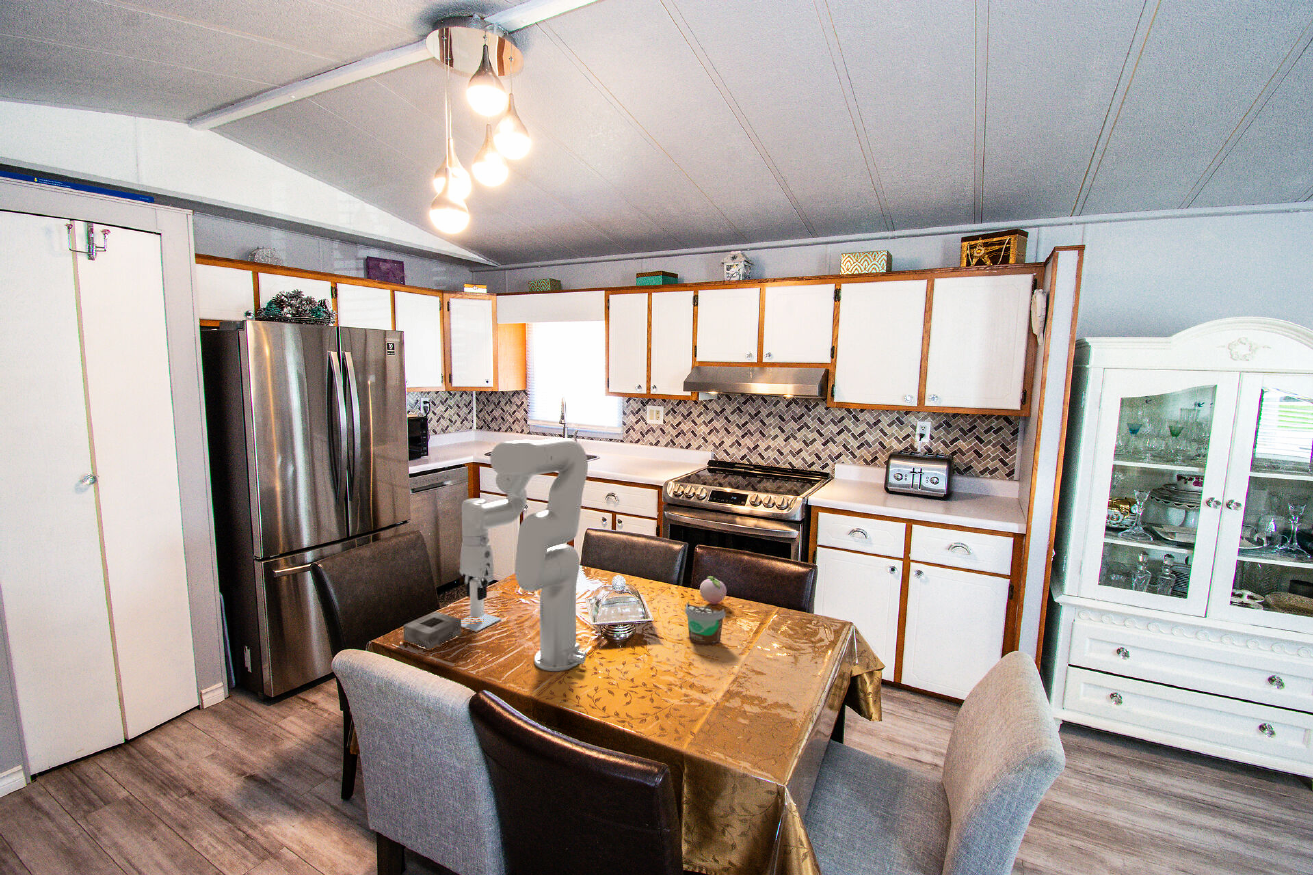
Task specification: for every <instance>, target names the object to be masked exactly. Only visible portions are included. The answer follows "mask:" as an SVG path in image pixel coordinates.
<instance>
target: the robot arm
mask: <svg viewBox="0 0 1313 875" xmlns="http://www.w3.org/2000/svg"><path fill="white" fill-rule="evenodd" d="M489 459H490V465H491V468H492V470H493V471H494V472H496V473H497V474H496V476H495V484H496V486H497V488H498V489H499V490H500V491H501V492H502V493H504V494H506V495H507V496H506V497H505V498H504V499H498V500H494V501H490V502H489V501H487V500H486V499H484V498H480V497H479V498H478V497H477V498H476V497H475V498H473V497H472V498H468V499H465V500H463V501H462V504H461V525H462V528H461V531H462V533H461V534H462V536H461V537H462V538H461V539H462V543H461V548H460V557H459V558H460V560H459V562H460V564H459V565H460V566H459V570H458V573H460V575H461V576H462V578H463V579H464V584H466V585H465V586H466V597H467V598H470V580H471V579H474V578H478V584H479V587H478V588H477V596H478V600H482V599H486V598H487V596H488V591H487V590H488V587H487V586H488V585H489V584H490V582H492V581H494V580H495V577H494V571H495V570H494V569H495V568H494V567H495V565H494V556H493V551H492V546H491V543H489V542H490V538H489V529H493V528H497V527H500V526H505V525H510V524H512V523H513V522H515V521H517V519H518V518H519V516H521V515H522V513H523V511H524V509H525V508H526V505H527V500H528V497H527V496H528V495H527V491H526V487H527V486H528V484H529V482H530V481H531V479H532V477H533V476H537V475H544V474H548V473H554V472H558V475H557V476H556V477H555V479H553V480H554V481H553V482H552V484H551V486H550V488H549V492H548V501H547V506H546V508H545V509H544V510H541V511H537V512H534V513H531V514H529V515H527V516H526V517H525V518H524V519H523V520H522V522H521V523H520V525H519V529H518V535H517V543H516V554H515V564H514V573H515V579H516V582H517V584H518V586H519V588H521V589H522V590H523V591H526V592H530V593H531V592H536V591H540V595H539V650H538V651H537V652H536V653H535V655H534V658H533V659H534V664H535V666H536V667H537V668H539V669H541V670H543V671H547V672H549V671H550V672H561V671H566V670H567V671H568V670H570V669H573V668H574V667H576V666H578V665H579V664H581V665H583V664H585V661H586V657H587V652H585V651H581V650H580V643H577V622H576V621H577V612H576V610H577V608H576V607H577V582H578V578H579V576H578V575H579V571H580V565H581V564H580V563H581V562H580V556H579V554H578V552H577V550H576V549H575V548H574V547H573V546H572V545H569V544H566V543H569V542H571V541H573V540H574V539H575V538H576V536H577V535H578V531H579V526H580V525H579V524H580V517H581V510H582V508H581V507H582V500H583V492H584V488H585V484H586V480H587V475H588V469H589V463H588V462H589V460H588V458H587V454H586V451H585V449H584V447H583V446H582V445H581V444H580V443H579V442H578V441H576V440H574V439H571V438H565V437H564V438H563V437H560V438H559V437H558V438H549V439H540V440H531V439H520V440H518V439H517V440H510V441H509V440H508V441H503V442H499V443H498V444H496V445H495V447H493V449H492V451H491V453H490V458H489ZM482 579H483V582H482Z"/></svg>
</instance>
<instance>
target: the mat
mask: <svg viewBox="0 0 1313 875" xmlns="http://www.w3.org/2000/svg"><path fill="white" fill-rule="evenodd" d="M468 617H471V616H470V615H468V616H467V618H466V617H464V618H463V619H481V620H473V621H484V622H473V623H477V624H461V626H462V627H464V628H469V629H470V630H474V631H476V632H477V631H478V630H481V629H482V628H485V627H486V626H489V625H491V624H492V623H495V622H497V621H499V620H501V621H502V618H501V617H497V616H494V615H491V614H487V613H485V612H484V615H483V616H481V617H480V618H479V617H478V618H468ZM483 619H484V620H483ZM461 621H468V620H462V619H461ZM469 621H470V620H469ZM471 621H472V620H471ZM499 622H500V621H499ZM461 623H472V622H461ZM481 623H482V624H481ZM497 623H498V622H497ZM495 624H496V623H495ZM491 626H492V625H491ZM489 627H490V626H489ZM485 629H486V628H485ZM481 631H482V630H481Z"/></svg>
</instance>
